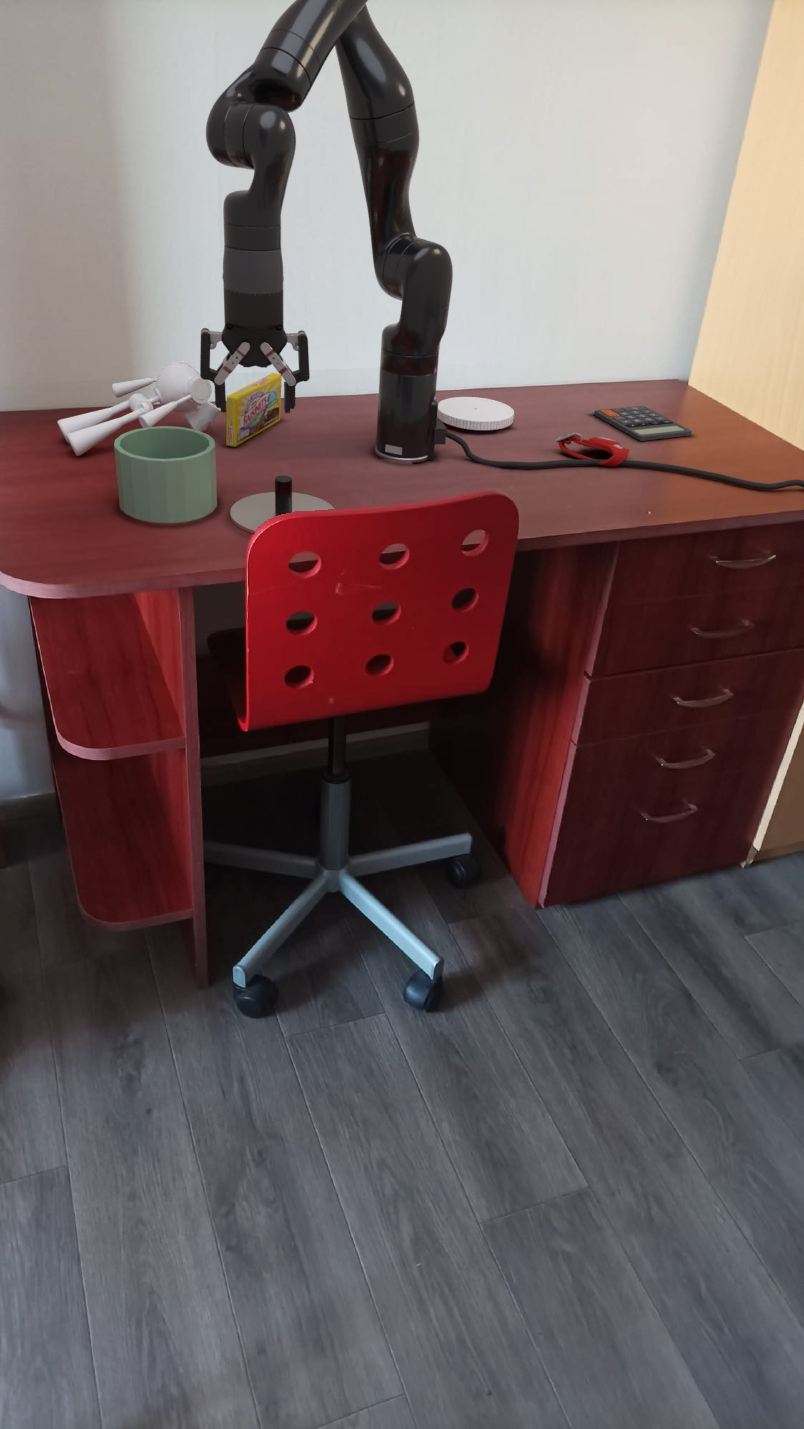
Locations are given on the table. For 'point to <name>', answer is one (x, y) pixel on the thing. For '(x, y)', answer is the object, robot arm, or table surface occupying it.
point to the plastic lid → (475, 413)
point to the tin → (166, 474)
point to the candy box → (253, 409)
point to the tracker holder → (597, 443)
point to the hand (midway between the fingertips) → (255, 411)
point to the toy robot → (146, 406)
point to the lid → (273, 505)
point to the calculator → (642, 423)
